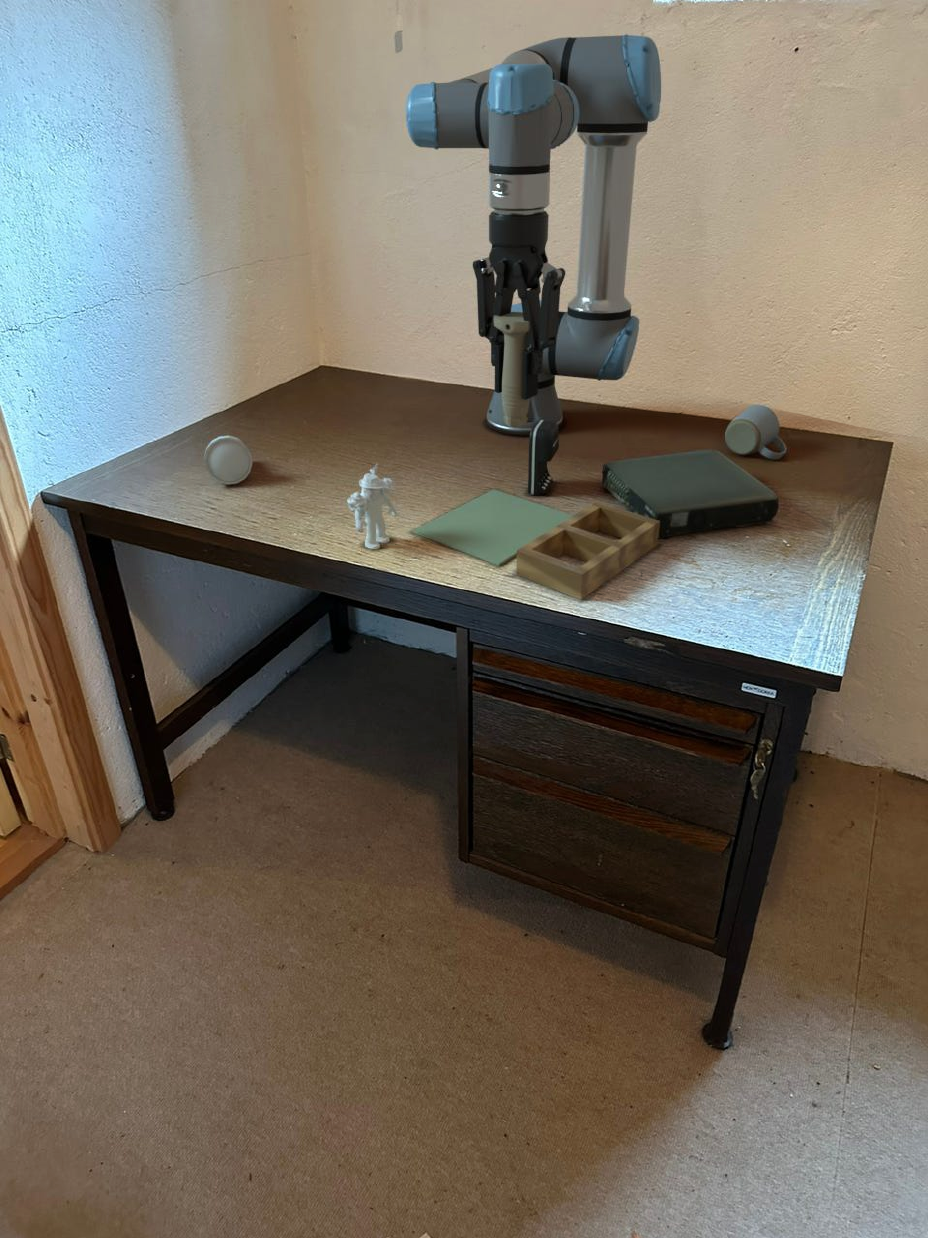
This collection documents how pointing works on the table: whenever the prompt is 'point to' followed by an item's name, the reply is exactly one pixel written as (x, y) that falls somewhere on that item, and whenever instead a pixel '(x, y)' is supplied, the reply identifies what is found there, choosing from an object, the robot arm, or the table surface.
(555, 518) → the mat
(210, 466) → the spotlight
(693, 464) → the network switch
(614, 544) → the rack
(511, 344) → the handle
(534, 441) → the battery charger
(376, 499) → the flower shoulder figurine
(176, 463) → the table surface
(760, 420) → the ceramic mug
